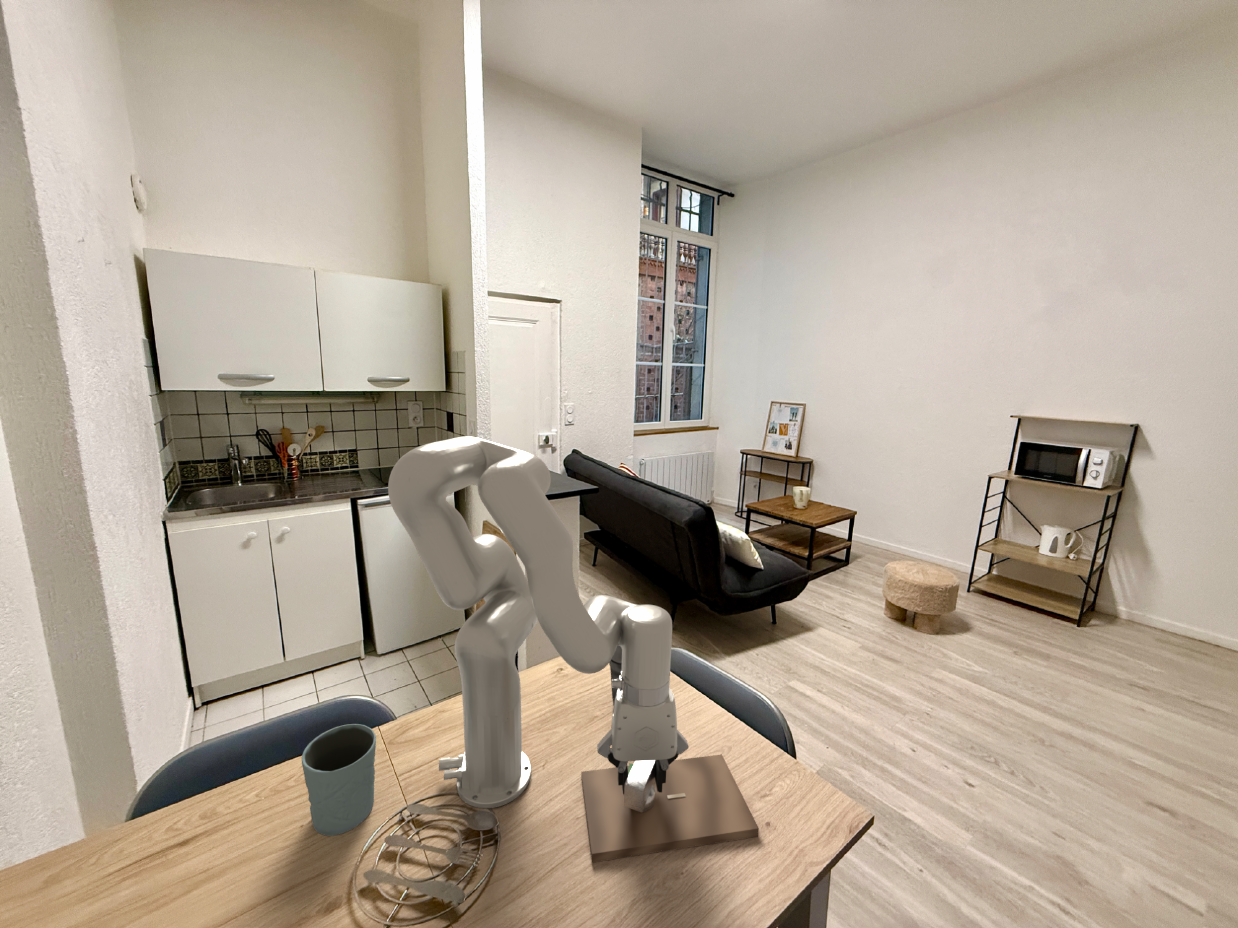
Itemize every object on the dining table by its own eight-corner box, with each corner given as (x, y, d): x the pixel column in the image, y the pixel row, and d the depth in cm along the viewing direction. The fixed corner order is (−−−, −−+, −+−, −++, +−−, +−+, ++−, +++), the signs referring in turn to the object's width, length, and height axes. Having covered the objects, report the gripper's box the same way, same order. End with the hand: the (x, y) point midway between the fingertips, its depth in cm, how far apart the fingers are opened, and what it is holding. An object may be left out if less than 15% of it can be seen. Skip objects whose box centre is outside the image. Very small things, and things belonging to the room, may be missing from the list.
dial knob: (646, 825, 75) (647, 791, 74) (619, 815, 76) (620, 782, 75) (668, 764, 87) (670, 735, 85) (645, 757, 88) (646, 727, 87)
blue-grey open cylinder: (317, 793, 81) (311, 730, 79) (384, 778, 84) (379, 717, 82) (300, 849, 72) (292, 779, 69) (376, 829, 75) (371, 762, 73)
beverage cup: (641, 693, 108) (643, 610, 105) (639, 716, 101) (642, 628, 98) (608, 691, 109) (610, 608, 105) (604, 713, 102) (606, 625, 98)
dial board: (591, 862, 71) (591, 852, 70) (581, 777, 86) (581, 768, 85) (758, 836, 75) (758, 827, 75) (720, 759, 90) (721, 751, 90)
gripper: (591, 703, 71) (589, 809, 74) (705, 699, 73) (698, 803, 76) (589, 672, 78) (588, 770, 82) (693, 669, 80) (687, 765, 83)
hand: (641, 785), depth 79 cm, fingers closed on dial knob, 4 cm apart
